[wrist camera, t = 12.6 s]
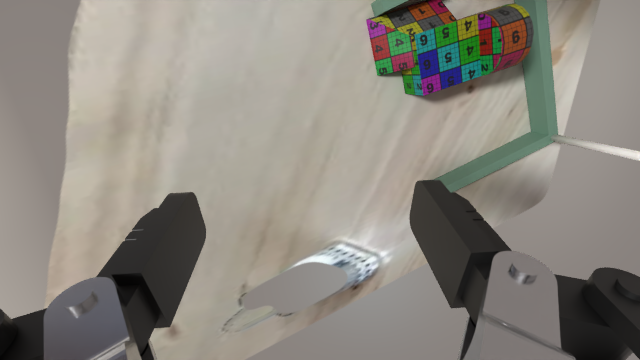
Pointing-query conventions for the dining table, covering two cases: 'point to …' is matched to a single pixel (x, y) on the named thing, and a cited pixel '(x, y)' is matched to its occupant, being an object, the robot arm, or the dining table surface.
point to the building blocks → (448, 44)
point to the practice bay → (539, 106)
